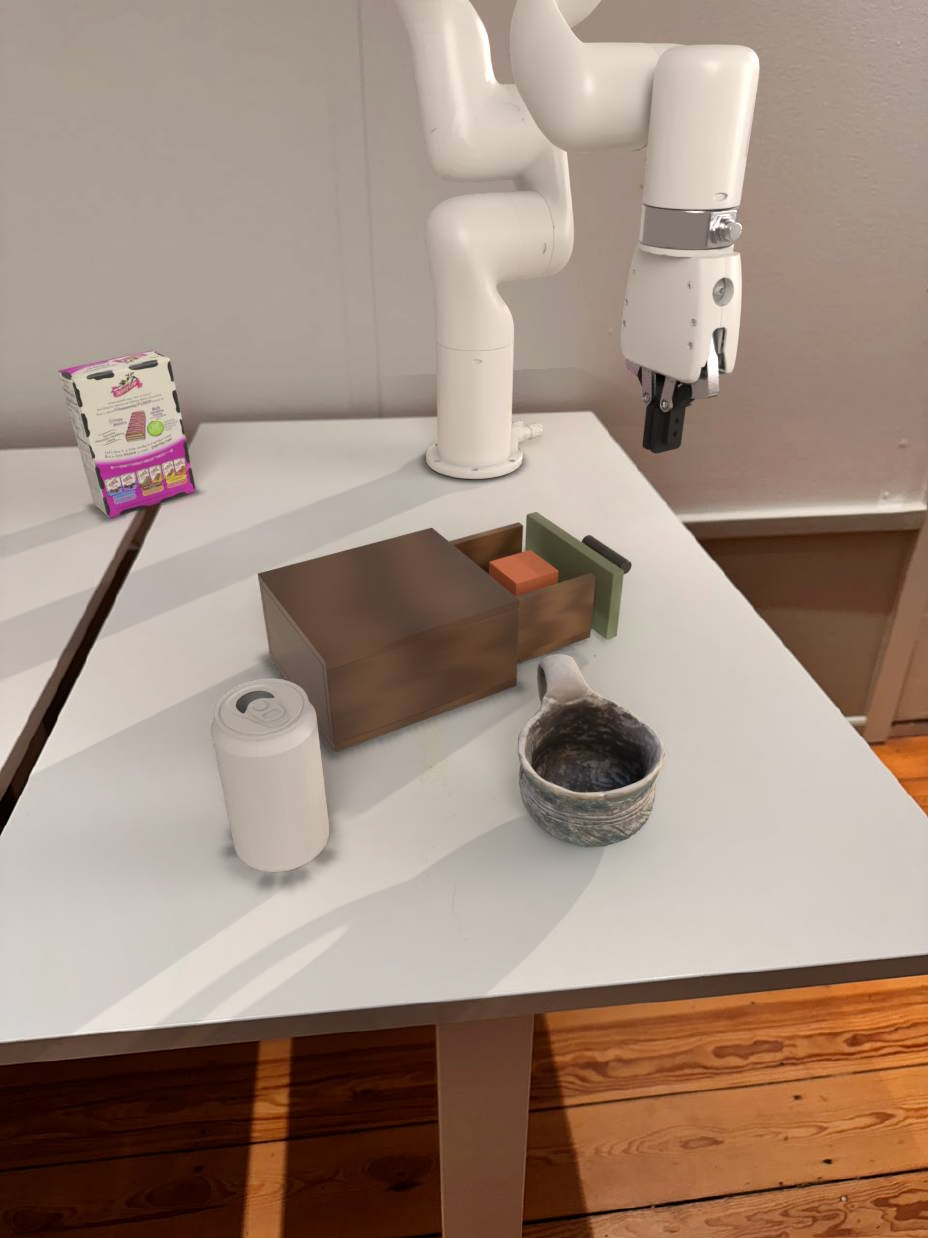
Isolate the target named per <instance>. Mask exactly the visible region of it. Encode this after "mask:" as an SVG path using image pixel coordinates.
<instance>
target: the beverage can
mask: <svg viewBox="0 0 928 1238" xmlns="http://www.w3.org/2000/svg"><path fill="white" fill-rule="evenodd" d="M213 716H214V718H213V720H212V722H211V726H210V734H211V741H212V745H213V750H214V755H215V759H216V764H217V768H218V774H219V780H220V784H221V789H222V794H223V798H224V803H225V808H226V813H227V818H228V822H229V827H230V833H231V837H232V838H231V839H232V843H233V848H234V851H235V853H236V854H237V857H238V858H239V859H240V861H242V862H243V863H244V864H245V865H247V866H248V867H250V868H252V869H255V870H257V871H260V872H266V873H282V872H288V871H291V870H295V869H298V868H300V867H302V866H305V865H306V864H309V862H312V861H313V860H314V859H315V858H316V857H317V856H318V855H319V854H320V853H321V852H322V851H323V850H324V848H325V847H326V845H327V842H328V840H329V837H330V821H329V813H328V805H327V797H326V796H327V794H326V786H325V778H324V769H323V761H322V760H323V759H322V751H321V742H320V734H319V727H318V725H317V716H316V711H315V709H314V707H313V706H312V704H311V703H310V702H309V701H308V697H307V694H306V693H305V691H304V690H303V689H302V688H301V687H300V686H298V685H296V684H295V683H292V682H290V681H286V679H282V678H271V677H270V678H259V679H254V680H249V681H246V682H243V683H241V684H238V685H236V686H234V687H232V688H231V689H229V690H228V691H226V692H225V693H224V694H223V695H222V696H221V697H220V698H219V699H218V701H217V702H216V704H215V707H214V709H213Z"/></svg>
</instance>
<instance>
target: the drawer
mask: <svg viewBox="0 0 928 1238" xmlns="http://www.w3.org/2000/svg"><path fill="white" fill-rule="evenodd" d="M523 537H524V525H523V524H522V523H521V522H519V521H518V522H515V523H511V524H507V525H503V526H500V527H496V528H493V529H489V530H485V531H482V532H478V533H473V534H470V535H467V536H463V537H459V538H455V539H452V540H448V541H449V542H450V543H451V544H453V545H454V546H455V547H456V548H457V549H459V550H460V551H461V552H462V553H463V554H465V555H466V556H467V557H468V558H469V559H471V560H472V561H473V562H474V563H476V564H477V565H478V566H479V567H480V568H482V569H483V570H484V571H485V572H486V573H488V574H489V562H490V561H494V560H497V559H501V558H504V557H508V556H511V555H514V554H518V553H521V552H523V541H525V544H524V552H525V551H528V550H531V551H533V552H534V553H535V554H537V555H538V556H539V557H541V558H542V559H544V560H545V561H546V562H548V563H549V564H550V565H552V566H553V567H554V568H556V569H557V570H558V571H559V573H558V583H557V584H554V585H551V586H548V587H544V588H541V589H538V590H535V591H532V592H529V593H525V594H522V595H519V596H516V597H517V598H518V599H519V600H520V603H519V624H518V649H517V664H519V663H522V662H525V661H528V660H530V659H531V660H532V659H533V658H537V657H539V656H543V655H545V654H547V653H551V652H553V651H555V650H558V649H561V648H564V647H567V646H570V645H573V644H575V643H578V642H581V641H585V640H587V639H589V638H591V631H592V629H593V630H594V631H595V632H596V633H597V634H599V636H601V637H603V638H604V639H605V640H609V639H612V638H615V637H617V636H618V629H619V621H620V620H619V618H620V611H621V602H622V593H623V584H624V576H625V575H626V574H628V573H629V572H630V571H631V569H632V567H633V564H632V562H631V560H629V559H627V558H626V557H624V556H623V555H621V554H620V553H619V552H617V551H616V550H614V549H612V548H611V547H609V546H608V545H606V544H605V543H603V542H602V541H600V540H598V539H597V538H596V537H594V536H593V535H591V534H587V535H584V537H583V538H582V540H579V539H577V538H576V537H574V536H573V535H572V534H571V533H569V532H567V531H566V530H564V529H563V528H561V527H560V526H558V525H557V524H556V523H554V522H552V521H551V520H550V519H548V518H547V517H545V516H543V515H542V514H541V513H539V512H538V511H534V512H533V511H532V512H529V513H527V514H526V519H525V540H523Z"/></svg>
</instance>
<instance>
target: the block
mask: <svg viewBox="0 0 928 1238" xmlns="http://www.w3.org/2000/svg"><path fill="white" fill-rule="evenodd" d="M558 573H559V571H558V570H557V569H556V568H554V567H553V566H552V565H550V564H549V563H548V562H546V561H545V560H544V559H542V558H541V557H539V556H538V555H537V554H535V553H534V552H533V551H531V550H528V551H525V550H524V551H522V552H521V553H518V554H514V555H511V556H508V557H504V558H501V559H497V560H494V561H490V562H489V575H490V576H491V577H492V578H494V579H495V580H496V581H497V582H499V583H500V584H501V585H502V586H503V587H505V588H506V589H507V590H508V591H509V592H511V593H512V594H513V595H514V596H515V597H516V596H519V595H522V594H525V593H529V592H532V591H535V590H538V589H541V588H544V587H548V586H551V585H554V584H557V583H558Z"/></svg>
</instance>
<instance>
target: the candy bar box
mask: <svg viewBox="0 0 928 1238" xmlns="http://www.w3.org/2000/svg"><path fill="white" fill-rule="evenodd" d="M57 373H58V377H59V380H60V384H61V387H62V388H61V389H62V391H63V395H64V398H65V403H66V406H67V410H68V413H69V418H70V421H71V425H72V428H73V432H74V435H75V439H76V443H77V447H78V451H79V455H80V458H81V461H82V466H83V469H84V472H85V476H86V480H87V483H88V487H89V491H90V495H91V499H92V502H93V505H94V506H95V507H96V509H97V510H99V511H101V512H102V513H103V514H104V515H105V516H106V517H107V518H109V519H112V518H115V517H119V516H122V515H125V514H129V513H131V512H135V511H139V510H141V509H145V508H149V507H151V506H155V505H157V504H158V505H159V504H160V503H161V504H162V503H165V502H167V501H170V500H174V499H176V498H179V497H183V496H186V495H189V494H192V493H195V492H196V491H197V488H196V484H195V483H196V482H195V477H194V473H193V469H192V463H191V458H190V453H189V448H188V447H189V446H188V443H187V437H186V434H185V428H184V424H183V417H182V413H181V412H182V411H181V408H180V402H179V396H178V393H177V389H176V383H175V379H174V372H173V367H172V363H171V359H170V357H168V356H165V355H163V354H161V353H159V352H157V351H156V350H151V349H150V350H147V351H142V352H138V353H133V354H128V355H122V356H117V357H113V358H109V359H103V360H100V361H99V360H98V361H95V362H91V363H87V364H86V363H85V364H82V365H77V366H72V367H67V368H63V369H58V370H57Z"/></svg>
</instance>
